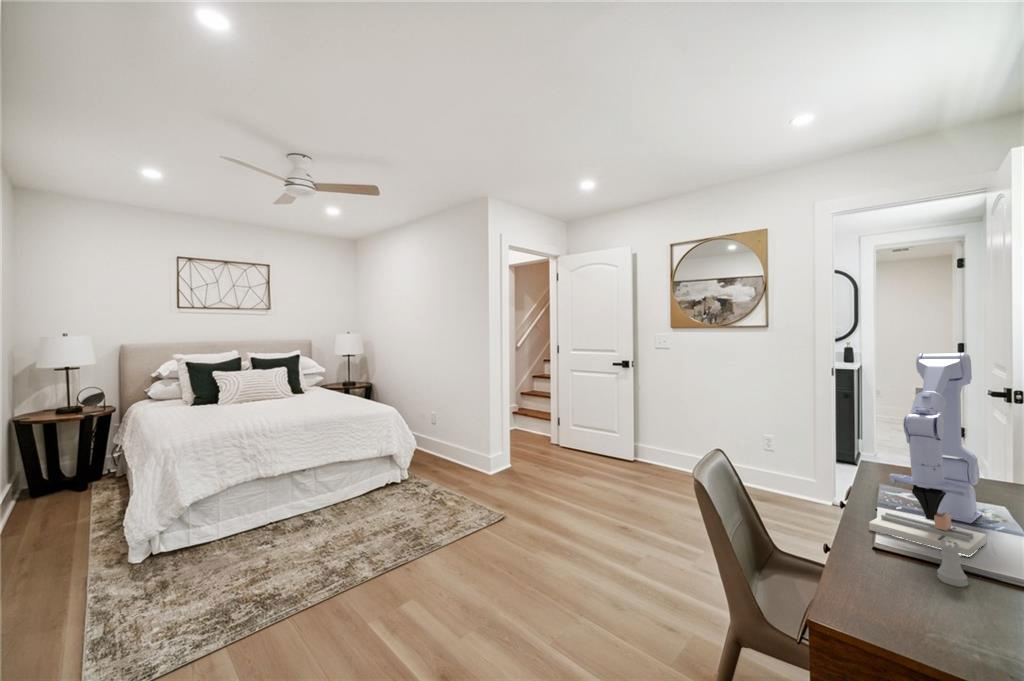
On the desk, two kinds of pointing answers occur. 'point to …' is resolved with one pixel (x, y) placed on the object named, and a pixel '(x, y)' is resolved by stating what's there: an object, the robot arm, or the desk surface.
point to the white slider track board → (927, 532)
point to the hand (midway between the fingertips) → (931, 518)
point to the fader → (942, 521)
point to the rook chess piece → (951, 565)
